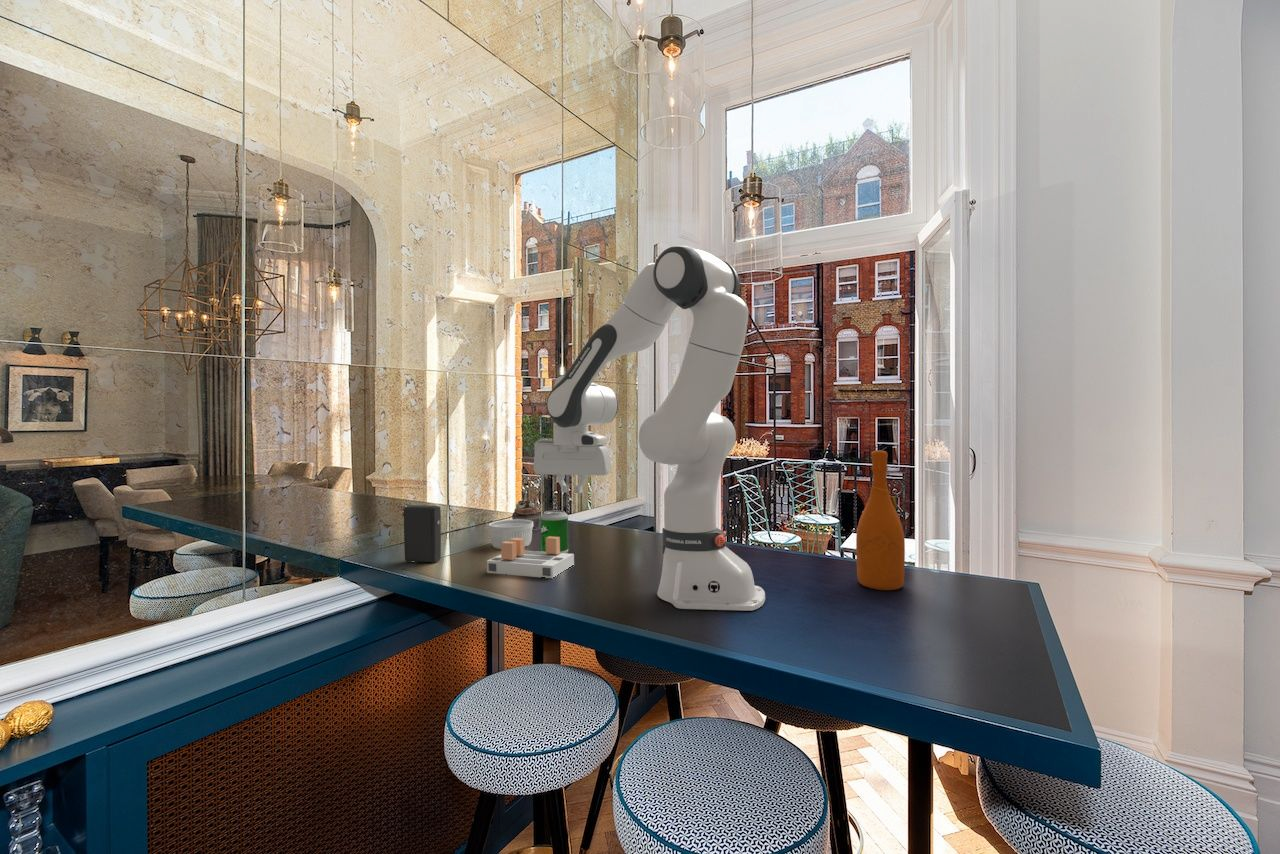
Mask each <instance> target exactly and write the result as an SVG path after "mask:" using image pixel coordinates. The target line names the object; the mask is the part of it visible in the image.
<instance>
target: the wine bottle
mask: <svg viewBox="0 0 1280 854" xmlns="http://www.w3.org/2000/svg"><path fill="white" fill-rule="evenodd" d="M870 455H871V456H870V457H871V463H872V464H871V471H872V472H873V473H872V486H871V488H870V489H871V490H870V492H869V497H868V500H867V502H866V504H865V507H864V509H863V510H862V512H861V515H860V518H859V520H858V525H857V529H856V535H855V536H856V541H855V542H856V544H855V547H856V549H855V552H856V553H855V554H856V575H857V576H856V577H857V581H858V582H859V584H861V586H864V587H867V588H869V589H872V590H878V591H894V590H895V591H896V590H899V589H901V588H903V586H904V584H905V563H906V562H905V561H906V555H905V553H906V550H905V549H906V547H905V546H906V545H905V532H904V529H903V525H902V522H901V519H900V516H899V514H898V512H897V510H896V509H898V506H897V503H896V499H895V496H893V495H890V490H889V488H888V483H887V475H886V474H887V472H888V469H889V468H888V456H889V455H888V452H887V451H885V450H882V449H879V450H878V449H877V450H873V451H872V452H871V454H870Z"/></svg>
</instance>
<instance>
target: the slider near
mask: <svg viewBox="0 0 1280 854" xmlns="http://www.w3.org/2000/svg"><path fill="white" fill-rule="evenodd" d="M500 551H501V553H500V555H501V559H507V560H513V559H515V558H516V542H511V541H505V542H502V543H501V549H500Z"/></svg>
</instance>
